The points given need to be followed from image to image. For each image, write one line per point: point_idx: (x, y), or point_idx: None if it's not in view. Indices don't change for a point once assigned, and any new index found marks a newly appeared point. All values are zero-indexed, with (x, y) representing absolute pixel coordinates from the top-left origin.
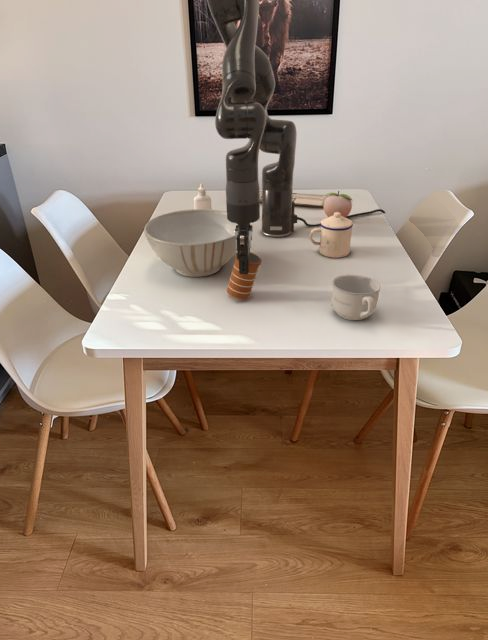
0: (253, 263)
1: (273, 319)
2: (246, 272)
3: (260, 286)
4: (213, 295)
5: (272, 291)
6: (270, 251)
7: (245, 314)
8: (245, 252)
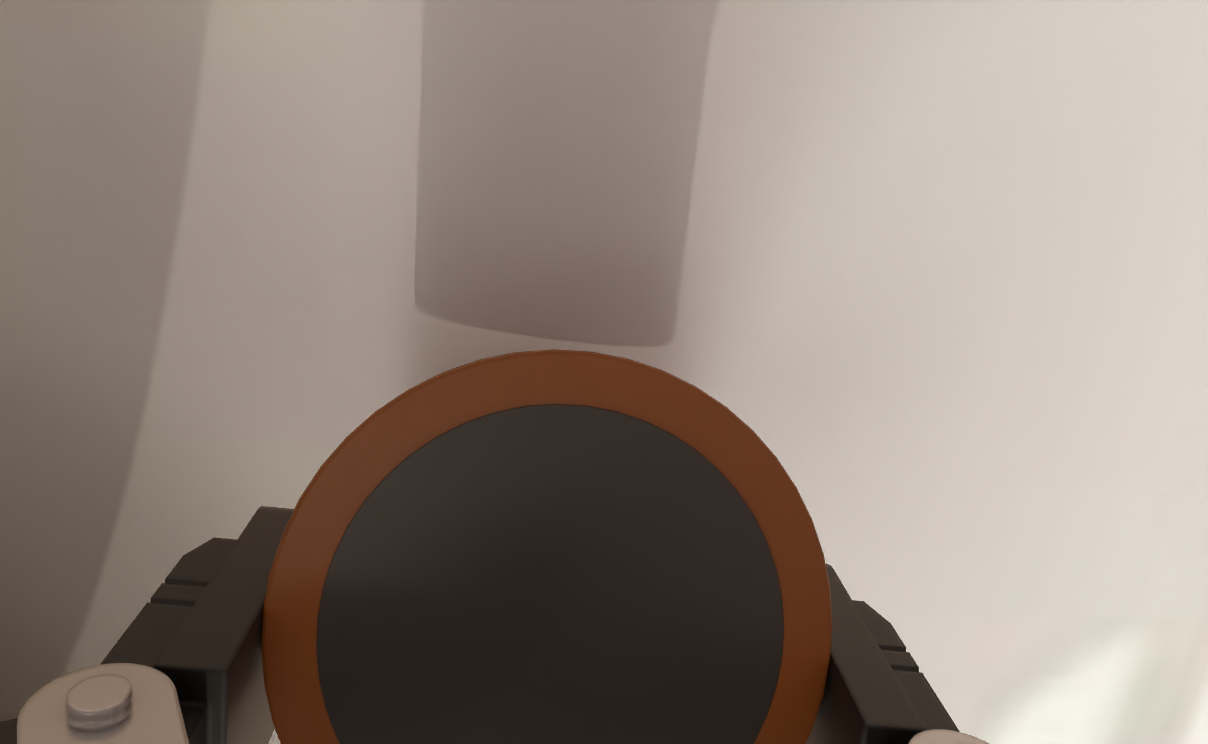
0: (814, 551)
1: (1097, 161)
2: (865, 607)
3: (279, 210)
4: None
5: (427, 76)
6: None
7: (925, 428)
8: (344, 709)
